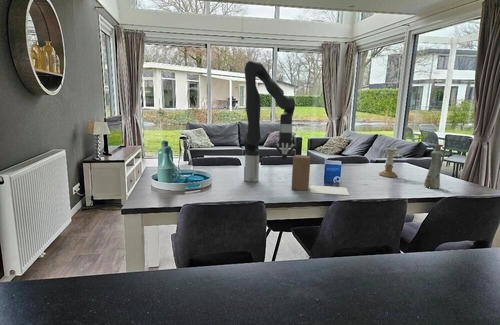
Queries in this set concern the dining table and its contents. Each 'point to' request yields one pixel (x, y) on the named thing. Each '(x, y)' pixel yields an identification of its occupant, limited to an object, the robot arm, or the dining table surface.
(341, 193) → the mat
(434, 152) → the bottle
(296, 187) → the block
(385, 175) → the candle holder
